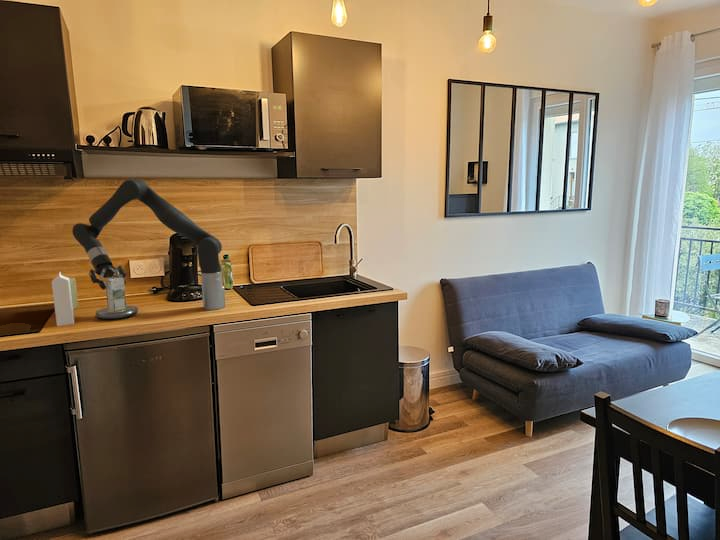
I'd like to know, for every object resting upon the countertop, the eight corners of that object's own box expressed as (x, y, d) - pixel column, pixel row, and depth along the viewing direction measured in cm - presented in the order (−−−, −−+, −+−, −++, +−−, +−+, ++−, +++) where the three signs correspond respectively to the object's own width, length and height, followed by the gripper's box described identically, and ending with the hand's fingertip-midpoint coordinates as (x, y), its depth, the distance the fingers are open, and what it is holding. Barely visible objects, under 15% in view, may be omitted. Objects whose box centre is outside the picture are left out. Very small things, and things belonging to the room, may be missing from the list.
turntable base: (124, 311, 225) (124, 309, 225) (137, 315, 218) (137, 312, 218) (97, 316, 216) (97, 314, 215) (110, 321, 208) (110, 318, 208)
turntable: (126, 307, 228) (126, 303, 228) (145, 312, 218) (145, 308, 218) (88, 314, 215) (88, 311, 215) (107, 321, 205) (106, 317, 205)
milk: (57, 326, 202) (50, 274, 198) (58, 322, 207) (51, 272, 203) (73, 324, 204) (67, 272, 200) (74, 320, 210) (68, 270, 206)
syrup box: (120, 307, 221) (117, 276, 218) (127, 309, 217) (123, 277, 214) (107, 310, 216) (104, 278, 214) (114, 312, 213) (110, 279, 210)
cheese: (75, 317, 215) (72, 284, 213) (50, 320, 211) (45, 286, 208) (78, 306, 235) (75, 276, 232) (55, 309, 231) (51, 278, 228)
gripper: (85, 255, 212) (100, 284, 207) (117, 251, 223) (132, 279, 218) (81, 266, 216) (95, 295, 211) (113, 262, 227) (127, 289, 222)
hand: (114, 287), depth 214 cm, fingers open, 8 cm apart
